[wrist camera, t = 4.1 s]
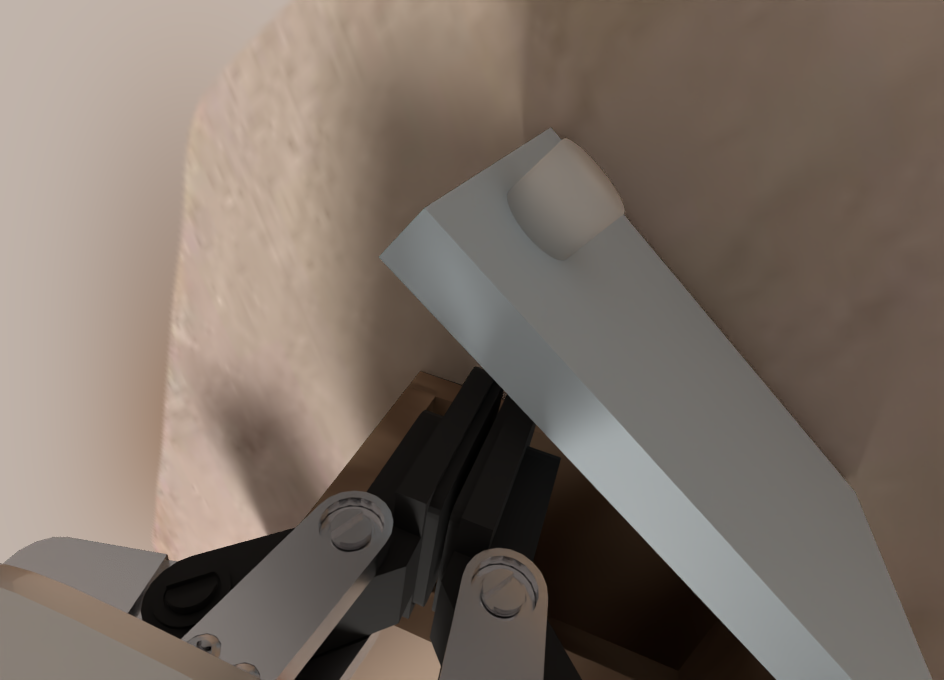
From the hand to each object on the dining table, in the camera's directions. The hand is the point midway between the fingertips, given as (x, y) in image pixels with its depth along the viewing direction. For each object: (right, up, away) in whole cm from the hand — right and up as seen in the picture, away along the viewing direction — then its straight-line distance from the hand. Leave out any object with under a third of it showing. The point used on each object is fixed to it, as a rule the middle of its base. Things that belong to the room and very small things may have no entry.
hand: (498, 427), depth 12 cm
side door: (+7, +3, +5) cm, 9 cm away
